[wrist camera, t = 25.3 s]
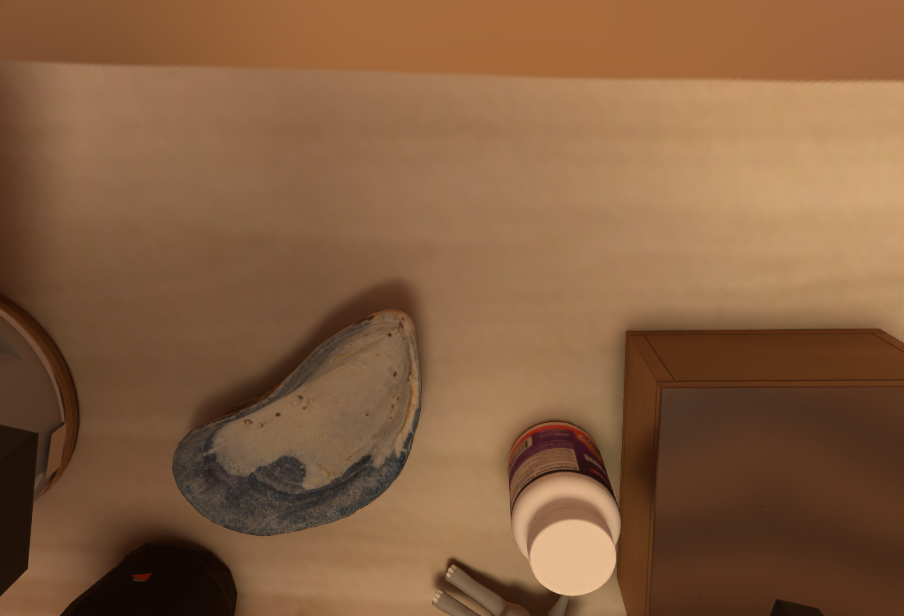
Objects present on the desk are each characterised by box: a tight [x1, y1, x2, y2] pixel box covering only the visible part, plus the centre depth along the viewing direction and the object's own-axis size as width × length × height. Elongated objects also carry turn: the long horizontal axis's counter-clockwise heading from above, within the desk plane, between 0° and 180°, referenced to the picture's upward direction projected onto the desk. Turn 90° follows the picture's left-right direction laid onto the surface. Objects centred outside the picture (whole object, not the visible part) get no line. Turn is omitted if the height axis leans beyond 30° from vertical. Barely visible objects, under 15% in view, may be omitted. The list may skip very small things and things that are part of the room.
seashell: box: [172, 309, 422, 536], centre depth 41 cm, size 15×12×5 cm
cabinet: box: [617, 329, 904, 616], centre depth 39 cm, size 16×14×9 cm
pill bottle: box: [508, 422, 621, 596], centre depth 39 cm, size 5×5×10 cm
